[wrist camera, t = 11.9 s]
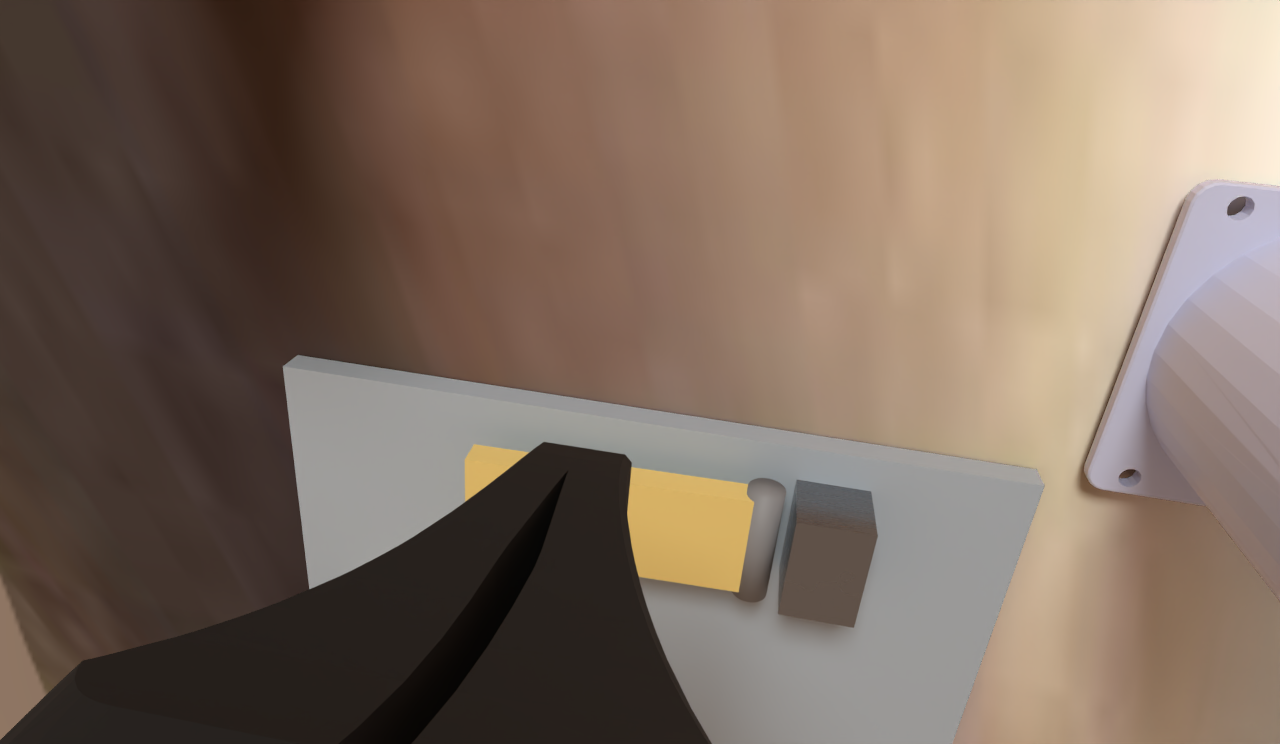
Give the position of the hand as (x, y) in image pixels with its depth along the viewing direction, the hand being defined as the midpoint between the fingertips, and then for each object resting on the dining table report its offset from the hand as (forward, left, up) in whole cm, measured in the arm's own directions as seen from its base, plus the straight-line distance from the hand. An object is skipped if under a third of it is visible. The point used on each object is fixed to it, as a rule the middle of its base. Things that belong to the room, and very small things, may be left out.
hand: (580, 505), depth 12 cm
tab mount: (-5, +7, -10) cm, 13 cm away
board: (0, +13, -10) cm, 16 cm away
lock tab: (+1, +7, -9) cm, 11 cm away
